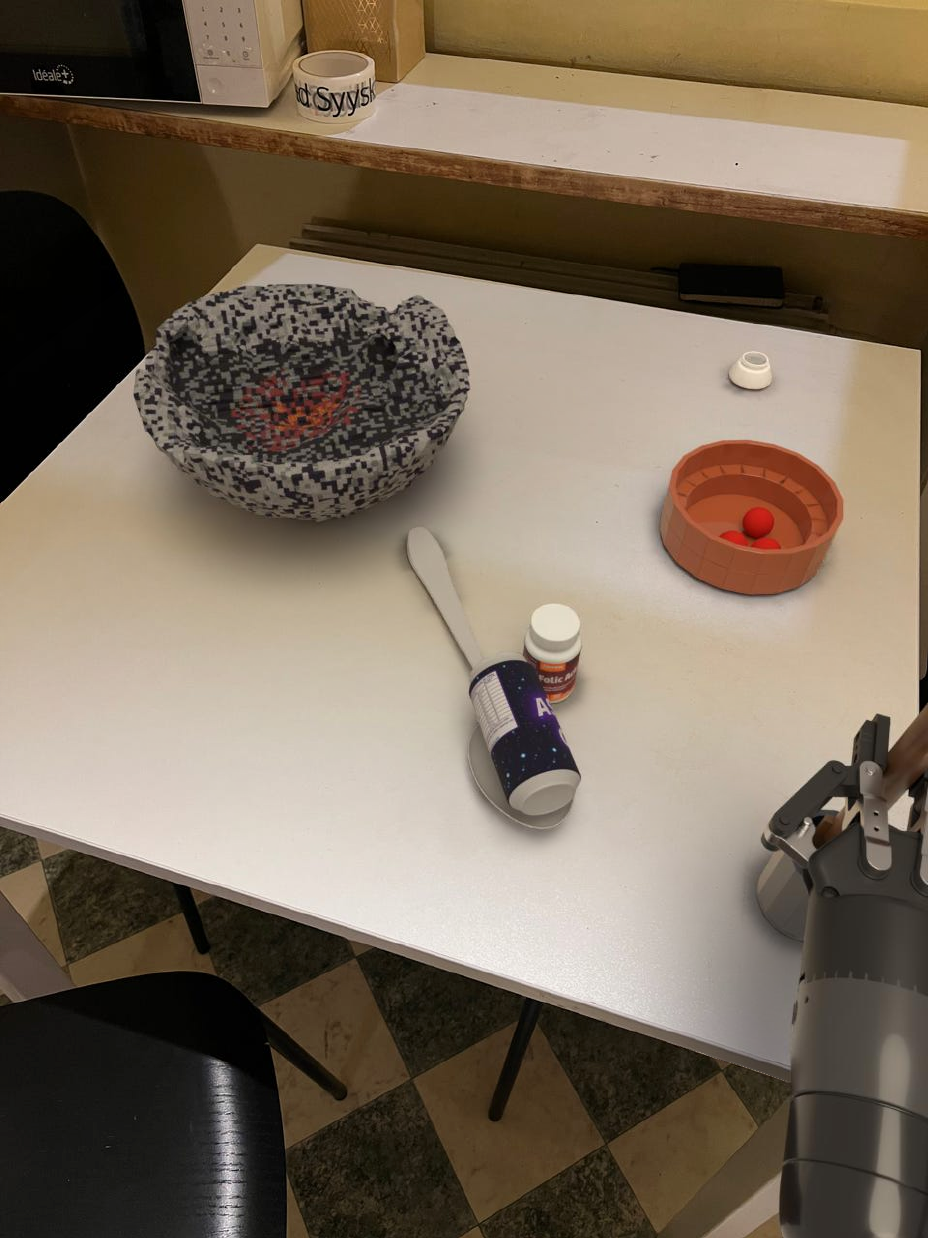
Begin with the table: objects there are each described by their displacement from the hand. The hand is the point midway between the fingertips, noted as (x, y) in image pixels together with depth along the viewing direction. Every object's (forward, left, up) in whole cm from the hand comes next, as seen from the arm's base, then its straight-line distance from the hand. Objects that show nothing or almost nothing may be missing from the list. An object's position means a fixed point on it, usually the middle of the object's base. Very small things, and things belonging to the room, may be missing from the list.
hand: (900, 730), depth 50 cm
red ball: (+6, -35, -17) cm, 39 cm away
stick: (0, +2, -13) cm, 13 cm away
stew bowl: (+7, -34, -19) cm, 39 cm away
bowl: (+51, -31, -19) cm, 63 cm away
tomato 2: (+5, -30, -17) cm, 35 cm away
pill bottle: (+22, -11, -19) cm, 31 cm away
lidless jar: (+8, -62, -19) cm, 65 cm away
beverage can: (+19, +3, -13) cm, 23 cm away
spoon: (+29, -11, -19) cm, 36 cm away
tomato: (+8, -31, -17) cm, 36 cm away
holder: (0, +3, -19) cm, 19 cm away
